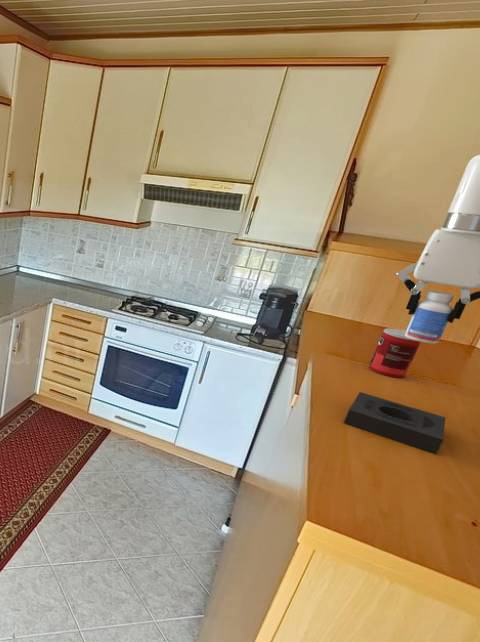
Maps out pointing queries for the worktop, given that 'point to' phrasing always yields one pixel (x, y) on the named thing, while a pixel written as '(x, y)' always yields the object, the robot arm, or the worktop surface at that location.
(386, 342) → the canned food
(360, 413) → the socket pad
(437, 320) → the pill bottle
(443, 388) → the worktop surface
